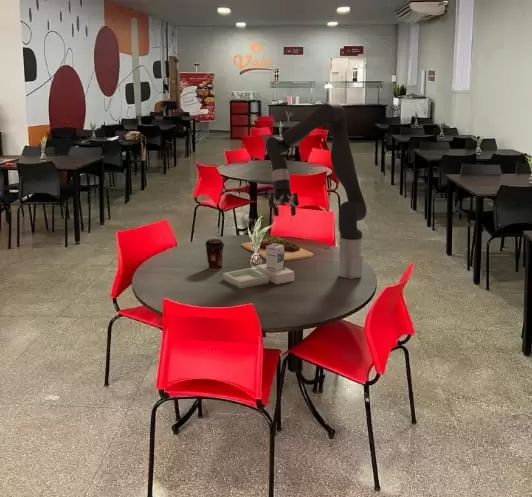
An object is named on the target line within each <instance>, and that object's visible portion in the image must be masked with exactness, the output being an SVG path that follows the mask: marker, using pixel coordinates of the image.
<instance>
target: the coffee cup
mask: <svg viewBox="0 0 532 497" xmlns="http://www.w3.org/2000/svg"><path fill="white" fill-rule="evenodd" d="M205 247H206V250H205V251H206V260H207V263H208V267H207V269H208V270H209V271H213V272H214V271H216V272H217V271H221V270H223V253H224V247H225V244H224V242H223V241H222V239H219V238H211V239H208V240H206V241H205Z"/></svg>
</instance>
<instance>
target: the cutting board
mask: <svg viewBox="0 0 532 497" xmlns="http://www.w3.org/2000/svg"><path fill="white" fill-rule="evenodd" d="M261 239H262V242H261V246H260V249H259V254H260V255H261V258H262V259H264V260H266V246H268V245H271V244H274V243H276V244H282V245H284V262H288V261H289V262H290V261H294V260H295V261H296V260H304V259H310V258H314V252H311V251H309V250H306V249H304V248H303V247H301V246H299V245H297V244H296V243H294V242H290V241H289V240H286V238H280V236H279V235H278V233H274V234H273V235H272V237H266V238H265V239H264V238H261ZM252 242H253V241H250V242H249V241H248V242H242V243H241V248H244V249H246V250H248V251H249V250H250V251H249V252H251V251H252V252H251V253H253V251H254V249H253V246H252Z"/></svg>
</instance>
